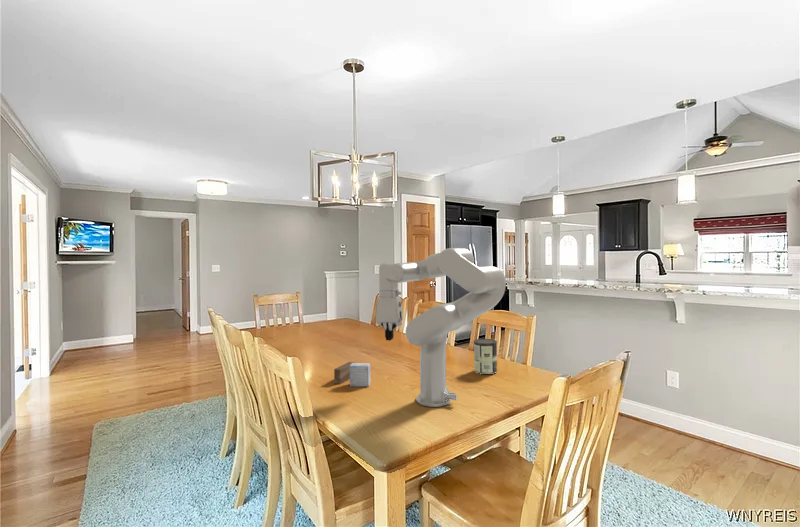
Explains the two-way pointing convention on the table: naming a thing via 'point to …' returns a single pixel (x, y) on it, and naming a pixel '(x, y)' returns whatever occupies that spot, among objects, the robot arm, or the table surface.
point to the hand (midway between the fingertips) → (389, 339)
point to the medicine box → (360, 374)
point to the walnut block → (342, 373)
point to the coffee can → (485, 356)
